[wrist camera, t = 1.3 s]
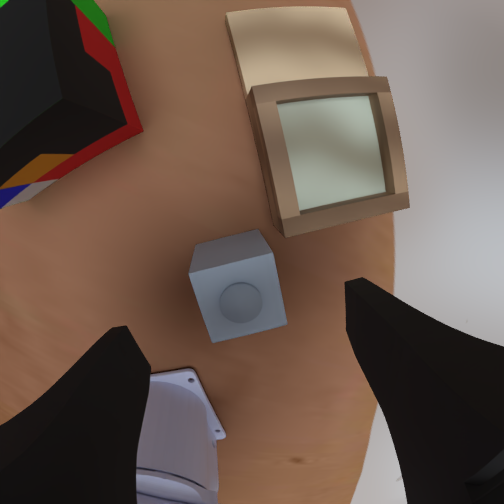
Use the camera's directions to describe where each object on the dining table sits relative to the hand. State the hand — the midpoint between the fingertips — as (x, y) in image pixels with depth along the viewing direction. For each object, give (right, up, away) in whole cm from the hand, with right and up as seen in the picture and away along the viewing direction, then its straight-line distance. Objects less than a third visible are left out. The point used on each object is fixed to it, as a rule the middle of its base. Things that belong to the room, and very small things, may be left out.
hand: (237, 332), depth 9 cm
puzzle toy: (-13, +12, +5) cm, 18 cm away
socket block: (+4, +12, +7) cm, 14 cm away
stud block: (-1, +2, +10) cm, 10 cm away
